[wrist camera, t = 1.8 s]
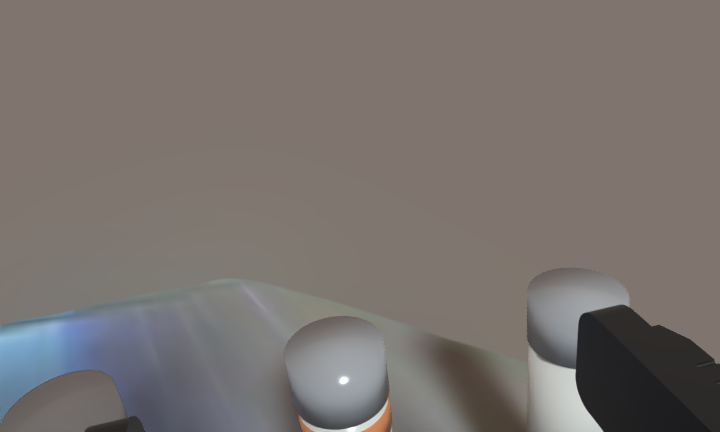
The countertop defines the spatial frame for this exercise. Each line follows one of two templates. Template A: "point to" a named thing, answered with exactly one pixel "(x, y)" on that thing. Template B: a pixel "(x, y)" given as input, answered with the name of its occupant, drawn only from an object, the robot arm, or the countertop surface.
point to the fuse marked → (339, 376)
